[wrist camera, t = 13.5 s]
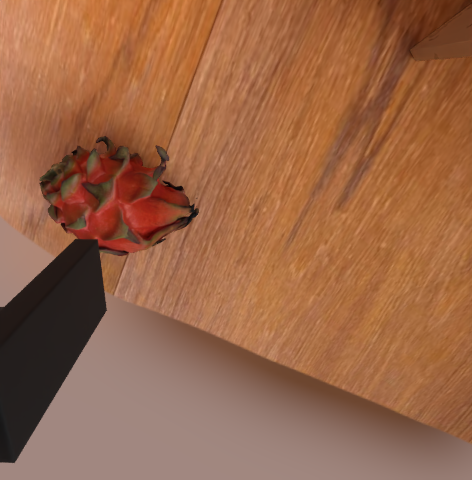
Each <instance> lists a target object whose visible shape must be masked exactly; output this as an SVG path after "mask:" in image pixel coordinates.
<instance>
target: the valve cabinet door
mask: <svg viewBox="0 0 472 480" xmlns="http://www.w3.org/2000/svg"><path fill="white" fill-rule="evenodd" d="M410 52H411V54H412V55H413V57H414V59H415V60H416V61H425V60H437V59H450V58H462V57H472V3H471V4H470V5H469V6H467V7H466V8H465V9H463V10H462V11H461V12H459V13H458V14H457V15H455V16H454V17H453V18H451V19H450V20H449V21H447V22H446V23H445V24H443V25H442V26H441V27H439V28H438V29H437V30H435V31H434V32H433V33H431V34H430V35H429V36H427V37H426V38H425V39H423V40H422V41H421V42H419V43H418V44H417V45H415V46H414V47H413V48H411V49H410Z"/></svg>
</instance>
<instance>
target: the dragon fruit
mask: <svg viewBox="0 0 472 480" xmlns="http://www.w3.org/2000/svg"><path fill="white" fill-rule="evenodd" d="M101 141H103V142H104V143H105V144H106V145H107V152H105V153H103V154H100V155H99V154H98V152H97V151H96V149H95V148H94V149H93V150H92V151H91V153H90V152H89V151H87V150H84V149H83V148H81V147H80V146H77V150H74V151H73V152H72V153H73V156H71V155H66V156H65V157H64V158H63V159H62V162H60V163H59V164H54V165H52V167H51V169H50V170H49V171H47V173H46V174H45V175H44V176H42V177H41V178H40V181H42V182H41V183H40V186H41V191H42V194H43V197H44V198H45V199H46V200H48V201H49V202H50V203H51V205H50V207H49V208H48V213H49V215H50V217H51V218H52V219H53V220H54V221H55V222H56V223H61V226H62V227H63V229H64V230H65V231H66V233H73V234H74V235H75V236H76V237H77V238H78V239H98V244H99V253H109V254H113V255H118V256H123V255H127V254H128V253H129V252H130V253H134V252H137V251H141V250H146V249H148V248H149V247H151V246H154V245H156V243H157V244H158V243H161V242H162V241H164V240H166V239H165V238H164V239H162V238H163V237H165V236H166V235H168V234H170V233H171V232H173V231H177V230H180V229H182V228H184V227H186V226H187V225H188V224H189V223H190V222H191V221H192V218H194V217H196V216H197V215H198V213H199V209H197V208H196V209H195V210H194V204H193V205H192V206H190V205H189V204H190V202H189V199H188V197H187V196H186V195H185V192H184V189H183V187H182V186H177V187H175V186H174V185H172V184H171V183H170V182H166V181H163V182H164V183H165V184H168V185H167V186H164V185H162V184H161V183H160V182H159V177H160V175H161V174H162V173H163V171H164V170H165V169H166V160H167V161H169V157H168V155H167V152H166V151H165V150H164V149H163V148H162V147H160V146H157V145H156V148H157V152H158V154H159V155H160V157H161V164H160V166H158V167H155V168H146V167H142V165H143V162H142V160H141V158H140V156H139V154H137V153H134V154H132V155H130V154H129V150H128V148H127V147H125V146H120V147H118V148H117V151H116V148H115V145H114V143H113V142H112V141H111V140H109V139H108V138H107V137H106V136H105V137H100V138H98V140H97V141H96V143H99V142H101ZM43 180H46V181H43ZM196 199H197V198H196ZM196 207H197V206H196ZM188 213H192V214H191V215H190V216H189V217H184V216H185V215H187V214H188Z"/></svg>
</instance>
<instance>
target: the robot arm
mask: <svg viewBox="0 0 472 480" xmlns="http://www.w3.org/2000/svg"><path fill="white" fill-rule="evenodd" d="M106 311H107V310H106V302H105V293H104V285H103V277H102V269H101V261H100V253H99V244H98V239H75V240H74V241H73V242H72V243H71V244H70V245H69V246H68V247H67V248H66V249H65V250H64V251H63V252H62V253H60V254H59V255H58V256H57V257H56V258H55V259H54V260H53V261H52V262H51V263H50V264H49V265H48V266H47V267H46V268H45V269H44V270H43V271H42V272H41V273H40V274H39V275H37V276H36V277H35V278H34V279H33V280H32V281H31V282H30V283H29V284H28V285H27V286H26V287H25V288H24V289H23V290H22V291H21V292H20V293H18V294H17V295H16V296H15V297H14V298H13V299H12V300H11V301H10V302H9V303H8V304H7V305H6V306H5V307H0V462H8V463H15V461H16V460H17V458H18V456H19V455H20V453H21V451H22V450H23V448H24V446H25V445H26V443H27V441H28V440H29V438H30V436H31V435H32V433H33V432H34V430H35V428H36V427H37V425H38V423H39V422H40V420H41V418H42V417H43V415H44V413H45V412H46V410H47V408H48V407H49V405H50V403H51V402H52V400H53V398H54V397H55V395H56V393H57V392H58V390H59V388H60V387H61V385H62V383H63V382H64V380H65V379H66V377H67V375H68V374H69V372H70V370H71V369H72V367H73V365H74V364H75V362H76V360H77V359H78V357H79V355H80V354H81V352H82V350H83V349H84V347H85V345H86V344H87V342H88V340H89V339H90V337H91V335H92V334H93V332H94V330H95V329H96V327H97V325H98V324H99V322H100V321H101V319H102V317H103V316H104V314H105V312H106Z"/></svg>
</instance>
